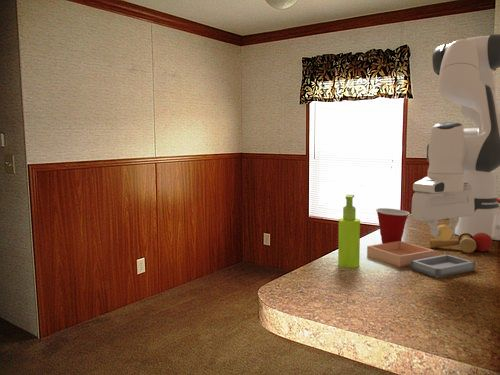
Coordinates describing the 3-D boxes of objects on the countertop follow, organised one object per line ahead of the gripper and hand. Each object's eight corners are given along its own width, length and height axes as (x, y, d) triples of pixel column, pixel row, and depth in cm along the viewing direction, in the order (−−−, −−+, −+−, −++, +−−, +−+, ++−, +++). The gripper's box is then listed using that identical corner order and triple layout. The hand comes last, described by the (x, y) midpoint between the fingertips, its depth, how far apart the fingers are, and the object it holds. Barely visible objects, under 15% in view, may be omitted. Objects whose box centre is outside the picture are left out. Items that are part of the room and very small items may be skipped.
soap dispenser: (360, 261, 125) (361, 194, 123) (358, 268, 119) (359, 197, 117) (340, 260, 127) (340, 193, 125) (337, 267, 121) (337, 196, 119)
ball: (441, 238, 119) (442, 222, 119) (455, 241, 115) (456, 225, 115) (430, 240, 117) (431, 224, 117) (443, 243, 113) (444, 227, 113)
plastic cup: (411, 249, 138) (412, 213, 137) (376, 248, 140) (377, 212, 139) (406, 241, 149) (407, 207, 148) (374, 240, 151) (374, 207, 150)
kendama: (431, 255, 137) (495, 252, 130) (429, 235, 137) (492, 231, 131) (431, 253, 144) (491, 250, 138) (428, 234, 145) (488, 230, 138)
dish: (399, 250, 137) (400, 241, 137) (434, 261, 125) (434, 250, 125) (367, 256, 131) (367, 246, 131) (399, 267, 119) (400, 256, 119)
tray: (446, 262, 124) (446, 254, 124) (474, 270, 116) (475, 261, 116) (410, 268, 118) (411, 260, 118) (437, 278, 110) (438, 269, 110)
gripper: (461, 181, 122) (459, 229, 123) (408, 184, 113) (406, 236, 114) (481, 182, 116) (479, 233, 118) (427, 186, 107) (425, 241, 109)
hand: (443, 234), depth 116 cm, fingers closed on ball, 4 cm apart
